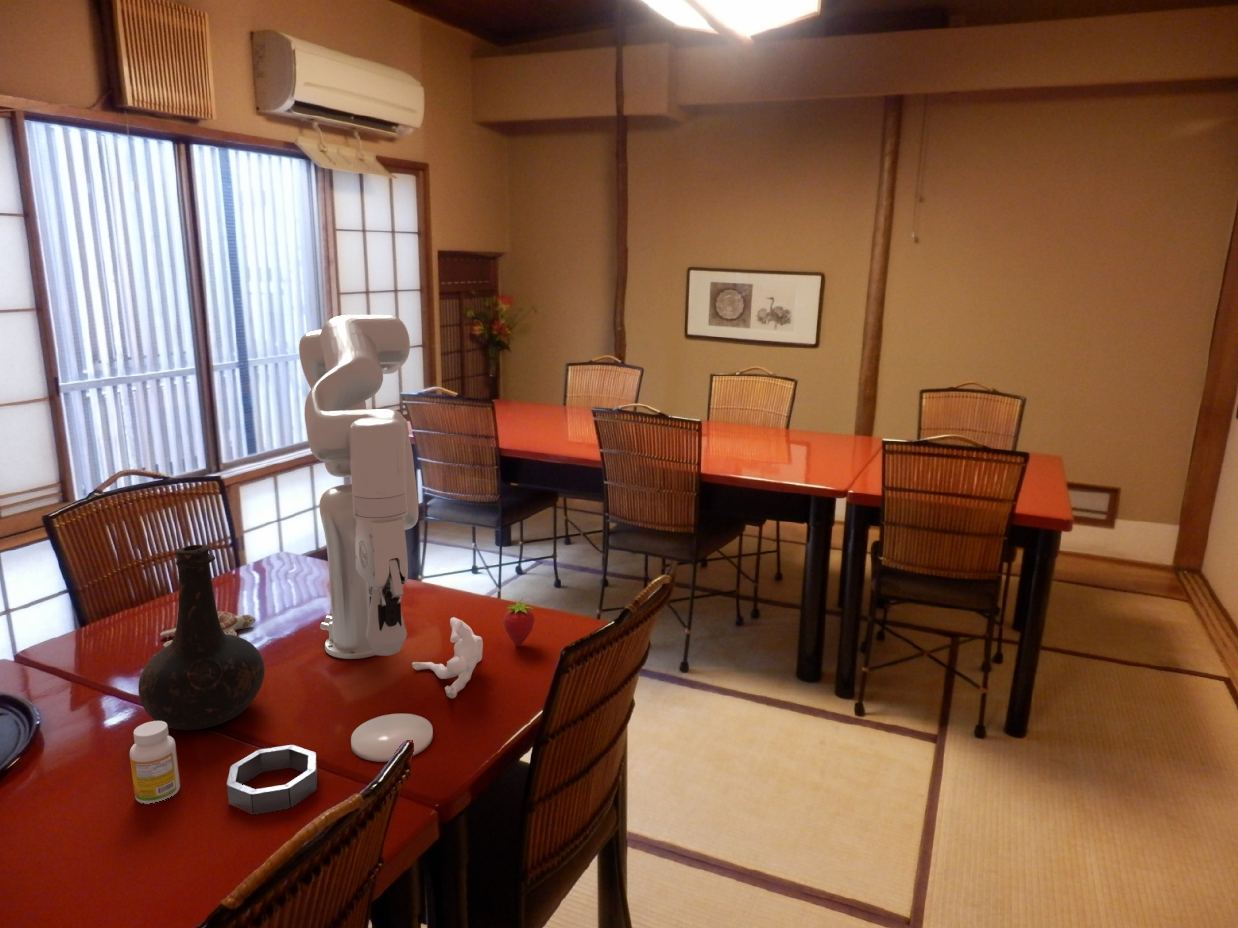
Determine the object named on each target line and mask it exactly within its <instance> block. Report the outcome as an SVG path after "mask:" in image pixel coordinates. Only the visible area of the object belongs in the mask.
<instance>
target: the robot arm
mask: <svg viewBox="0 0 1238 928" xmlns="http://www.w3.org/2000/svg"><path fill="white" fill-rule="evenodd" d="M298 344H299V345H298V353H299V359H300V363H301V368H302V371H303V374H304V376H305V380H306V381H307V384H308V386H309V388H310V390H309V392H308V394H307V395H306V399H305V402H304V403H305V405H304V422H305V430H306V437H307V441H308V442H307V443H308V445H309V448H310V451H311V454H312V455H313V456H314V457H315V459H317V460H319V461H321V462H323V463H324V467H325V469H326V470H327V472H328V474H330V476H333V477H337V478H350V480H351V483H347V484H340V485H336V486H332V487H331V488H329V489H327V490H325V491H324V492H323V493H322V495H321V497H320V498H319V515H320V519H321V523H322V528H323V532H324V533H323V534H324V538H325V543H326V552H327V563H328V564H327V565H328V574H329V576H328V578H329V592H330V594H329V595H330V607H331V609H330V610H331V611H330V612H331V615H329V614H328V615H326V616H325V617H324V620H323V622H321V623H320V625H319V628H320V629H321V630H324V631H328V635H329V637H328V638H327V639H326V641H325V643H324V650H325V652H326V653H327V654H328V655H329V656H332V657H334V658H337V659H345V660H356V659H365V658H370V657H375V656H377V655H376V654H375V653H374V651H373V650H372V648H371V646H370V645H369V643H368V641H367V637H366V633H367V626H368V618H369V611H370V603H371V596H372V588H374V589H379V597H380V605H378V622H379V629H380V631H381V630H382V627H383V625H384V622H385V623H386V625H387V626H389V627H391V626H395V625H396V624H397V621H398V623H399V625H400V626H401V612H402V607H401V605H402V604H401V603H402V596H404V589H403V585H405V584H406V583H407V582H408V576H409V571H408V570H409V569H408V567H409V566H408V564H409V563H408V549H407V539H406V531H407V530H409V529H412V528H413V527H414V526H416V524H417V523H418V520H419V499H418V489H417V481H416V473H415V464H414V463H415V462H414V455H413V449H412V442H411V439H410V431H409V430H410V429H409V424H408V420H407V419H406V418H405V417H404V416H403V415H402V412H400V411H398V410H396V409H393V408H370V409H367V403H366V401H367V400H369V399H371V398H372V397H374V396H375V395H376V394H377V393H378V392H379V391H380V389H381V387H382V386H383V382H384V375H389V374H391V375H392V374H394V373H396V372H397V371H398V370H399V369H400V368H401V367H403V365H404V364H405V363H406V362H407V360H408V358H409V355H410V349H411V343H410V334H409V332H408V328H407V326H406V324H404V321H402V320H401V319H400V318H399V317H397V316H395V315H390V314H345V315H338V316H333V317H332V318H331V319H328V320H327V321H326V322H325V323H324V324H323V326H322V328H321V329H317V330H312V331H309V332H306V333H304V334H303V335H302V337H301V338H300V340H299V343H298ZM387 580H390V583H387V584H385V583H386V581H387ZM390 588H391V590H390V591H387V593H386V595H385V589H390Z"/></svg>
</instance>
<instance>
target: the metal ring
mask: <svg viewBox="0 0 1238 928" xmlns="http://www.w3.org/2000/svg"><path fill="white" fill-rule="evenodd" d="M316 753H317V752H315V751H312V750H309V749H306V748H303V747H300V746H298V745H295V744H289V745H281V746H275V747H268V748H261V749H257V750H255V751H254V752H252V753H250V754H249V755H246V756H245V757H244V758H242V759H241V760H238V761H237V762H235V763H233V764H232V765H230V768H229V773H228V777H227V781H226V787H227V798H228V804H229V803H230V804H232V805H234V806H237V807H239V808H241V809H243V810H245V811H247V812H249V813H248V814H250V813H251V814H250V815H252V814H253V813H254V814H256V815H261V814H264V813H265V814H266V813H271V812H272V811H273V812H276V811H275V810H278V811H282V809H284V810H288V808H290V807H292V808H294V807H295V806H296V805H297V803H298V804H299V803H300V802H301V801H303V800H305V799H306V798H308V797H309V796H310V795H312V794H313V793H315V792H317V790H318V766H317V765H318V764H317V762H318V761H317V754H316ZM289 768H290V769H293V770H296V771H299V772H301V774H299V775H297V777H295V778H294V779H292V780H291V781H289V782H287V783H285V784H281V785H274V786H269V787H262V788H256V789H255V788H252V787H251V786H248V785H245V784H246V783H247V782H249V781H250V779H251V780H252V779H254V778H255V777H257V776H258V774H259V775H260V774H262V773H266V772H271V771H278V770H284V769H289ZM246 781H247V782H246ZM245 782H246V783H245ZM243 783H244V784H243ZM242 784H243V785H242ZM294 805H295V806H294ZM290 809H291V808H290ZM245 811H244V812H245ZM247 812H246V813H247ZM260 813H261V814H260ZM254 814H253V815H254Z"/></svg>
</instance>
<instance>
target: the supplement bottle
mask: <svg viewBox="0 0 1238 928" xmlns="http://www.w3.org/2000/svg"><path fill="white" fill-rule="evenodd" d="M132 734H133V741H134V744H133V745H132V746H131V748H130V750H129V761H130V767H131V776H132V784H133V785H132V786H133V792H134V797H135V800H136V801H137V802H138V803H140V804H143V803H144V805H150V803H153V804H156V803H155V802H158V803H160V802H159V801H162V800H164V801H166V800H165V799H167V798H169V799H170V797H171V796H172V797H174V796H175V795H176V794H177V793H178V792H179V791H180V788H181V781H180V773H179V763H178V753H177V746H176V741H175V739H174V738H173V737H172V736H171V735H170V734H169V727H168V726H167V723H166V722H164V721H155V720H153V721H152V720H151V721H147V722H144V723H142V724H140V725H138V726H137V727H135V729H134V730H133V733H132ZM172 797H171V798H172ZM167 800H168V799H167ZM162 802H163V801H162Z"/></svg>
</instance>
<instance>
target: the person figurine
mask: <svg viewBox="0 0 1238 928" xmlns="http://www.w3.org/2000/svg"><path fill="white" fill-rule="evenodd" d="M449 619H450V620H449V621H450V624H449V625H450V627H451V634H450V640H449V641H450V642H451V643H452V644H453V643H455V644H454V645H453V646H454V647H453V652H454V655H453V657H451V658H450V659H449V660H447V661H446V663H447V664H446V666H445V665H444V664H443V663H434V662H432V661H427V662H426V661H425V662H423V661H422V662H419V661H413V662H412V663H411V665H412V668H413V669H415V670H416V671H420V670H421V671H422V670H430V671H433V672H434V674H435V675H436V677H438V678H439V679H440V680H443V679H444V680H448V679H451V678H452V679H453V678H455V677H457V676H458V678H457V679H455V680H454V682H453V683H451V685H446V686H445V687H444V690H445V693H446V696H447V697H448V698H450V699H455V698H456V697H457V696H458V692H460V691H461V690H463V689H464V688H465V687H466V684H467V683H468V682H469V681H470V680H471V678H472V673H473V671H474V669H475V668H476V666H477V664H478V663H480V662H481V661H482V658H483V647H484V642H483V638H482V637H481V636H480V635H476V634H475V633H474V632H473V630H472V628H471V627H470V626H469V625H468V624H467V623H465V622H464V621H463V620H462V619H459V618H457V617H455V616H453V617H451V618H449Z"/></svg>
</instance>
